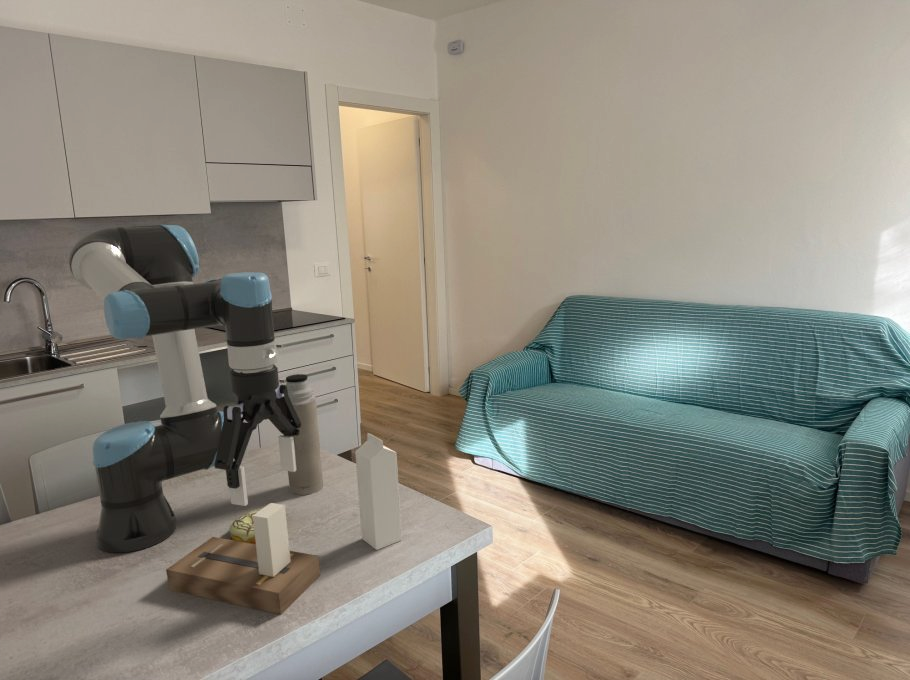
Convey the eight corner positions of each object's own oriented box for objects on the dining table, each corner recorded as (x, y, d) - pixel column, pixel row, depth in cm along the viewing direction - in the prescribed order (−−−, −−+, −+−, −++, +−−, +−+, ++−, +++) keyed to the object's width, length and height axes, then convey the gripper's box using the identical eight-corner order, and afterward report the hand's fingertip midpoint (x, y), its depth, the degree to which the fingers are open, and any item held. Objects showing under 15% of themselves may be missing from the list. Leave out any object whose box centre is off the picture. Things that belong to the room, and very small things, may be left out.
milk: (376, 550, 126) (368, 445, 121) (361, 538, 131) (353, 436, 126) (402, 540, 130) (395, 436, 125) (387, 528, 134) (379, 429, 130)
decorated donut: (221, 536, 135) (219, 519, 134) (268, 517, 142) (266, 501, 141) (245, 553, 127) (243, 536, 126) (293, 532, 135) (291, 516, 134)
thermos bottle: (284, 494, 152) (272, 380, 147) (297, 480, 160) (286, 371, 154) (316, 495, 151) (306, 380, 146) (327, 481, 159) (318, 371, 153)
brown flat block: (169, 589, 116) (166, 568, 115) (215, 555, 127) (212, 536, 126) (281, 614, 107) (278, 592, 106) (320, 575, 118) (318, 555, 117)
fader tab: (259, 574, 112) (252, 515, 110) (276, 559, 116) (270, 502, 114) (273, 576, 111) (267, 518, 108) (290, 561, 115) (284, 505, 113)
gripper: (220, 390, 93) (235, 524, 98) (314, 350, 116) (323, 460, 121) (179, 386, 96) (196, 516, 101) (280, 348, 119) (289, 456, 123)
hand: (265, 486), depth 111 cm, fingers open, 13 cm apart
